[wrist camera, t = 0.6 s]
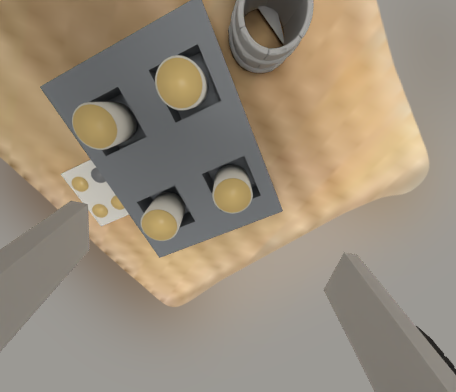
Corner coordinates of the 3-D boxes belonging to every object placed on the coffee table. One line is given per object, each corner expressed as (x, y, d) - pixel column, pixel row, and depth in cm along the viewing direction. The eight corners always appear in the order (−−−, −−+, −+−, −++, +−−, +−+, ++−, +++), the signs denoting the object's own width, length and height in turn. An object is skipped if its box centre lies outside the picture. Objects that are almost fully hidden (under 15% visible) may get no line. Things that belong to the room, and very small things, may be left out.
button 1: (89, 111, 28) (60, 114, 23) (122, 94, 27) (99, 93, 22) (112, 147, 29) (90, 157, 25) (143, 132, 29) (127, 139, 24)
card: (63, 172, 34) (59, 174, 34) (100, 154, 33) (98, 155, 32) (102, 224, 38) (100, 226, 37) (138, 209, 37) (136, 211, 36)
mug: (244, 85, 30) (254, 78, 19) (201, -19, 25) (181, -109, 14) (299, 56, 28) (345, 29, 17) (263, -60, 24) (294, -192, 13)
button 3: (146, 199, 32) (132, 217, 28) (175, 187, 32) (166, 202, 27) (163, 225, 34) (152, 246, 29) (191, 214, 33) (185, 234, 29)
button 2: (159, 74, 26) (144, 69, 21) (197, 55, 25) (189, 45, 20) (179, 114, 28) (170, 118, 23) (215, 97, 27) (212, 97, 22)
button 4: (208, 172, 31) (205, 186, 26) (241, 158, 30) (243, 170, 25) (223, 201, 33) (222, 219, 28) (253, 189, 32) (258, 205, 27)
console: (68, 88, 30) (39, 86, 25) (204, 13, 27) (199, -5, 22) (167, 239, 39) (159, 257, 35) (275, 196, 36) (282, 211, 32)
